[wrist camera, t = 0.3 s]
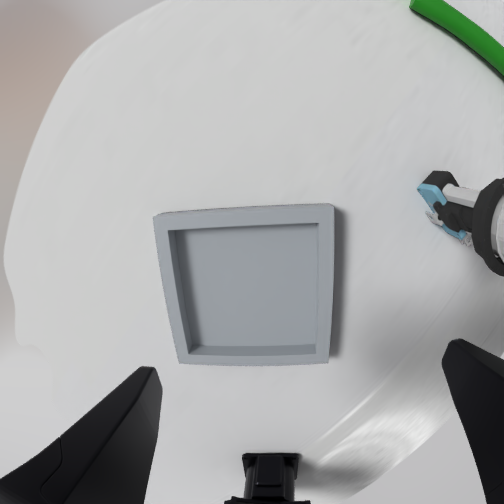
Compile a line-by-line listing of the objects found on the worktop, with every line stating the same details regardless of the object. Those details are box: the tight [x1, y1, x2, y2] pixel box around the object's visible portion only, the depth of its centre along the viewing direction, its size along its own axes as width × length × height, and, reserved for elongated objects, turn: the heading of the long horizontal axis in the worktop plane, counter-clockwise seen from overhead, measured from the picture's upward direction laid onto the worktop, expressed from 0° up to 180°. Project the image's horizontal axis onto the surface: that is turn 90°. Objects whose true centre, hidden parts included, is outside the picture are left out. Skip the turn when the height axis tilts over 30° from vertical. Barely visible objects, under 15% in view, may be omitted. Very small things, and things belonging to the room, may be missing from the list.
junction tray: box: [153, 204, 334, 366], centre depth 21 cm, size 12×12×2 cm
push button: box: [417, 171, 504, 276], centre depth 14 cm, size 7×5×10 cm
